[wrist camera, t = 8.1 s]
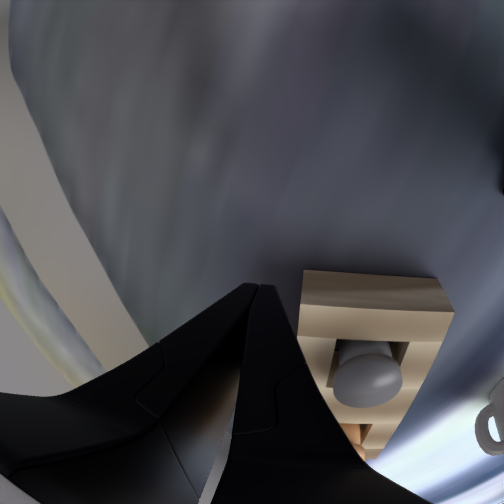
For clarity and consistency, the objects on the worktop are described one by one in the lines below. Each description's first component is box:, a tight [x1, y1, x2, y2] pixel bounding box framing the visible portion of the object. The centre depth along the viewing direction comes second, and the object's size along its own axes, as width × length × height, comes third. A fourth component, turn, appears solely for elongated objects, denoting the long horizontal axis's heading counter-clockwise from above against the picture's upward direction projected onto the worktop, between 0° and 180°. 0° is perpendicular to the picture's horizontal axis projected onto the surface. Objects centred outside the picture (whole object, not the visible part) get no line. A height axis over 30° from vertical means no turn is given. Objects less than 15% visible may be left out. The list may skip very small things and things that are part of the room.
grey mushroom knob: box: [333, 339, 403, 408], centre depth 20 cm, size 5×5×6 cm
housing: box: [297, 270, 455, 459], centre depth 24 cm, size 20×10×4 cm, turn 1°
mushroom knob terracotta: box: [339, 423, 365, 461], centre depth 24 cm, size 5×5×6 cm
